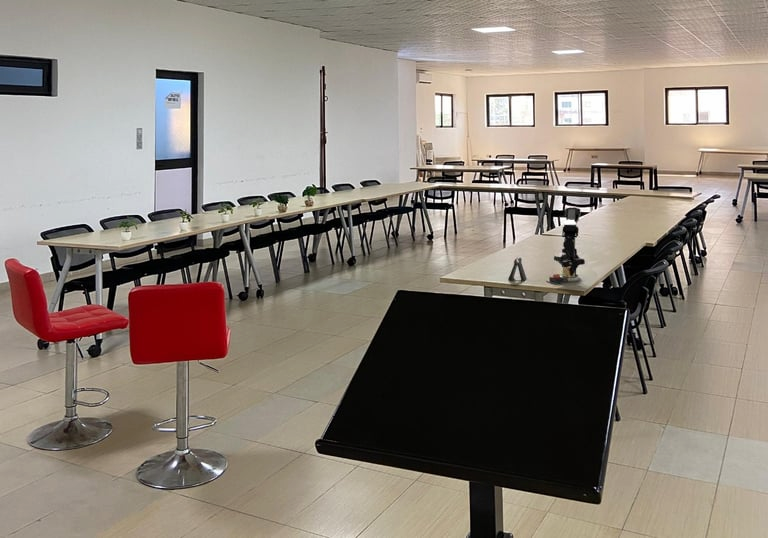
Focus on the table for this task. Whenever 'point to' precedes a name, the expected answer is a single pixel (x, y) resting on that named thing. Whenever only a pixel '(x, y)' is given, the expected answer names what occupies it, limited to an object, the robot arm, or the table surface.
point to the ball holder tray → (562, 280)
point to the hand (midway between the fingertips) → (568, 275)
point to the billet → (567, 272)
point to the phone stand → (521, 271)
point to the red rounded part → (556, 275)
